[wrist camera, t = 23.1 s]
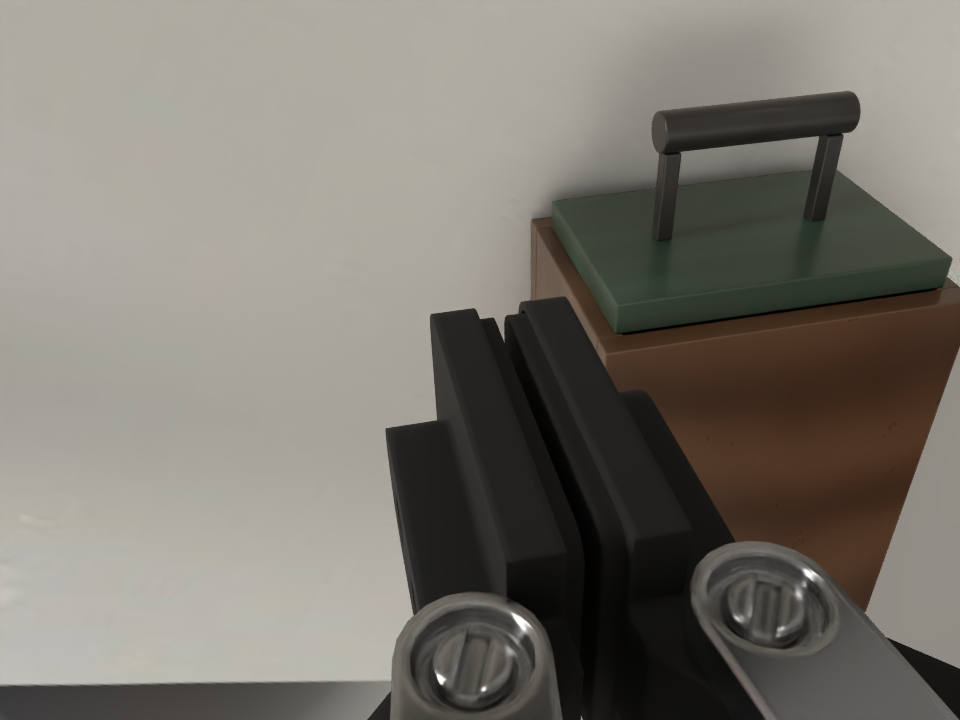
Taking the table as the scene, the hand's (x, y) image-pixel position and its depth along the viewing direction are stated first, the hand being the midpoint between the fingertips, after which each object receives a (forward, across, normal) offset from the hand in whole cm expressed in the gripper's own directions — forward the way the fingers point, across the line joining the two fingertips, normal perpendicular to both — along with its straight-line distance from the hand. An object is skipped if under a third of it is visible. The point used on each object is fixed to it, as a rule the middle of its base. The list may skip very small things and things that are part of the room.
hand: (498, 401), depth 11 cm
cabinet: (+23, -13, +18) cm, 32 cm away
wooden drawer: (+22, -13, +14) cm, 29 cm away
